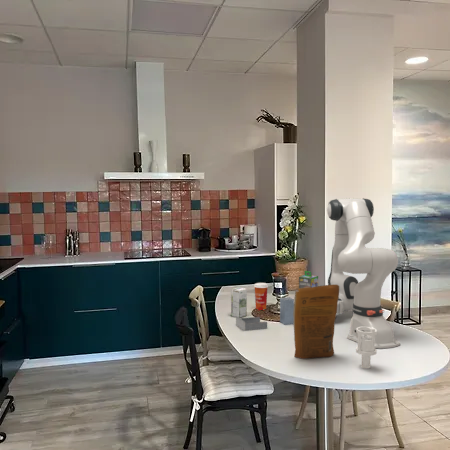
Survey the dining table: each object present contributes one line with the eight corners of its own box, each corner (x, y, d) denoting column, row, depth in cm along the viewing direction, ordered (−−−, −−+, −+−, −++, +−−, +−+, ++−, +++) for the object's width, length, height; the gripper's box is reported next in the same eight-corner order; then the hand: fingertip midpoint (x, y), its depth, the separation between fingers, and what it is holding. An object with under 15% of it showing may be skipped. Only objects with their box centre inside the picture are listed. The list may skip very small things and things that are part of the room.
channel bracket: (259, 322, 215) (259, 314, 214) (267, 328, 205) (267, 320, 205) (236, 324, 211) (236, 316, 211) (243, 331, 202) (243, 322, 201)
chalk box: (318, 294, 276) (318, 270, 275) (311, 296, 269) (311, 272, 268) (305, 292, 282) (306, 269, 281) (298, 294, 275) (298, 271, 274)
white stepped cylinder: (365, 372, 154) (366, 330, 153) (351, 365, 160) (352, 325, 159) (380, 368, 157) (381, 327, 156) (366, 362, 163) (367, 322, 162)
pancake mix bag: (342, 357, 168) (343, 285, 166) (295, 361, 164) (295, 287, 162) (335, 351, 174) (335, 282, 172) (289, 355, 171) (289, 284, 169)
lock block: (294, 323, 212) (294, 299, 211) (284, 324, 211) (284, 300, 210) (290, 321, 217) (290, 297, 216) (280, 322, 215) (280, 298, 214)
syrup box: (238, 314, 230) (238, 286, 229) (247, 316, 226) (246, 288, 225) (231, 316, 226) (230, 288, 225) (239, 318, 222) (239, 290, 221)
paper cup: (251, 309, 240) (251, 284, 239) (259, 306, 245) (259, 282, 244) (262, 311, 234) (262, 286, 233) (271, 309, 240) (271, 283, 239)
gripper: (322, 292, 231) (299, 294, 227) (344, 301, 212) (319, 304, 207) (322, 304, 231) (299, 306, 227) (344, 314, 212) (319, 317, 208)
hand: (309, 305), depth 217 cm, fingers open, 8 cm apart
